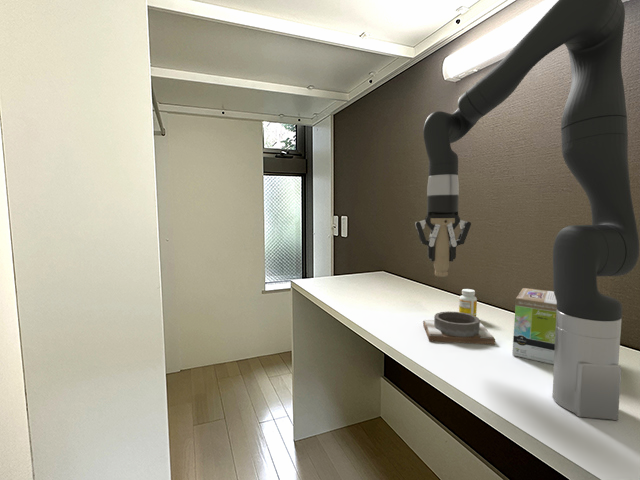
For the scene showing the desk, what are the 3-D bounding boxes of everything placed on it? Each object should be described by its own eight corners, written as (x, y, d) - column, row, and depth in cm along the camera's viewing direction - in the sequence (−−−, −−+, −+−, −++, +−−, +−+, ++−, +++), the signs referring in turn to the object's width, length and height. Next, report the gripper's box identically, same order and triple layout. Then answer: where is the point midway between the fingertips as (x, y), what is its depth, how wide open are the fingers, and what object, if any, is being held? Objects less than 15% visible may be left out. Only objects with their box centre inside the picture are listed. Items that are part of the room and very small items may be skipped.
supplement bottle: (464, 321, 110) (464, 292, 109) (455, 316, 115) (456, 288, 114) (479, 320, 110) (480, 291, 110) (470, 315, 116) (471, 288, 115)
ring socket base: (494, 344, 90) (495, 326, 90) (429, 341, 93) (429, 323, 93) (480, 328, 103) (481, 312, 103) (423, 325, 106) (423, 310, 106)
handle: (457, 277, 85) (458, 218, 84) (432, 277, 85) (433, 218, 83) (449, 274, 90) (450, 217, 88) (425, 274, 89) (426, 218, 88)
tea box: (561, 367, 77) (564, 304, 76) (511, 356, 83) (513, 297, 82) (562, 345, 89) (565, 291, 88) (519, 337, 95) (521, 286, 94)
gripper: (415, 193, 83) (414, 262, 84) (476, 192, 81) (475, 263, 82) (412, 195, 90) (411, 258, 92) (468, 194, 88) (466, 259, 89)
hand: (441, 260), depth 87 cm, fingers closed on handle, 4 cm apart
